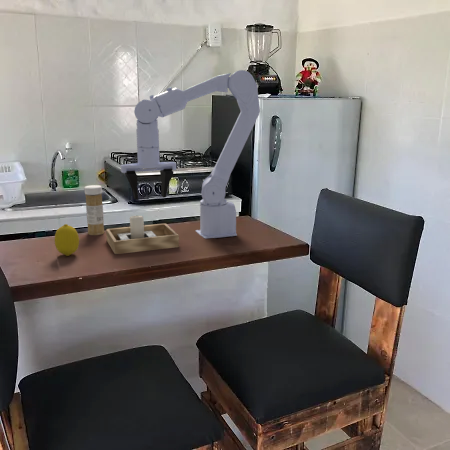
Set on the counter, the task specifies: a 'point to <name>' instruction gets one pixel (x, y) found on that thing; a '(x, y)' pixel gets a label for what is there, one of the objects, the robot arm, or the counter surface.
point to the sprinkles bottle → (94, 209)
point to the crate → (143, 239)
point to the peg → (137, 227)
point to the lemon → (66, 240)
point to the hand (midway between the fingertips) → (150, 197)
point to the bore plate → (128, 235)
